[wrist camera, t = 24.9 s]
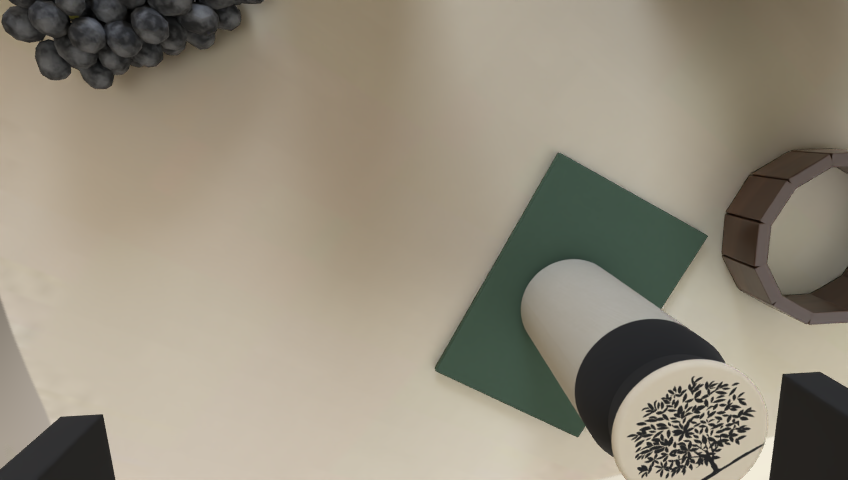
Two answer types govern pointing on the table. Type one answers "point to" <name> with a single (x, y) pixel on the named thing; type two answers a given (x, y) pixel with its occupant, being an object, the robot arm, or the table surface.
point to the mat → (544, 245)
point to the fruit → (115, 32)
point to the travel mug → (643, 378)
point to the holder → (752, 236)
